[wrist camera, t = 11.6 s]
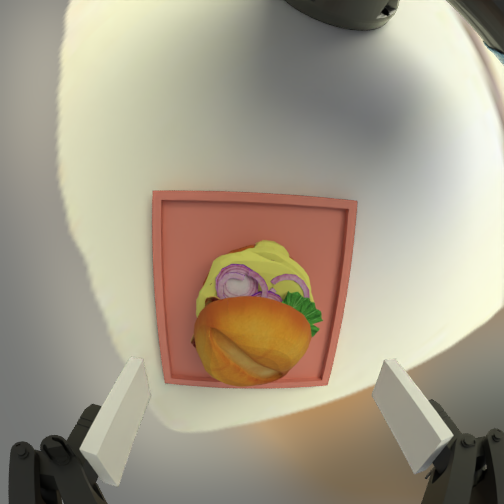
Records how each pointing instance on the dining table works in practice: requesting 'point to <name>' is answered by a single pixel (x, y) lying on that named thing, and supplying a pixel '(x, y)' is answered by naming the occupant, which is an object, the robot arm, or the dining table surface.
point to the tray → (237, 236)
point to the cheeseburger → (254, 315)
